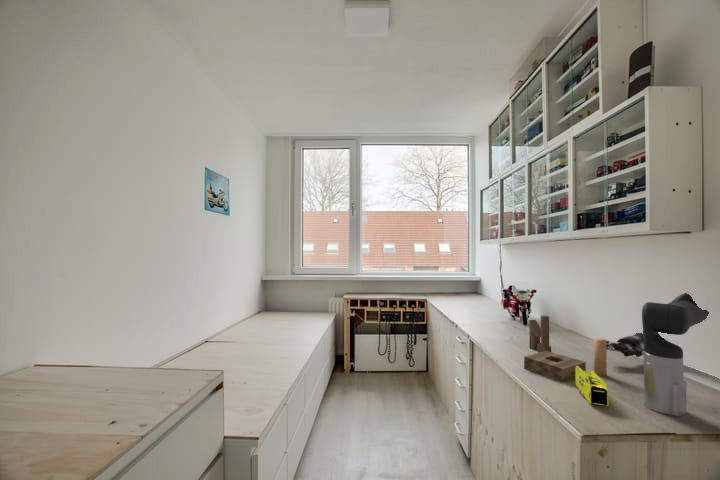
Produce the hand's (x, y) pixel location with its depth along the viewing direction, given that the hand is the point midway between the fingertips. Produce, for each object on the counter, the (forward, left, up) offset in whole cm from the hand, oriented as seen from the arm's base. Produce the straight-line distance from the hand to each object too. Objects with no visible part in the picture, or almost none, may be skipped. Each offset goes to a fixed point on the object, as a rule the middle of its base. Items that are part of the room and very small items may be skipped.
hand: (612, 351), depth 138 cm
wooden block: (+30, +3, -8) cm, 31 cm away
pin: (0, +11, -8) cm, 14 cm away
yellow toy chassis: (-9, +36, -8) cm, 38 cm away
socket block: (+11, +24, -8) cm, 28 cm away
